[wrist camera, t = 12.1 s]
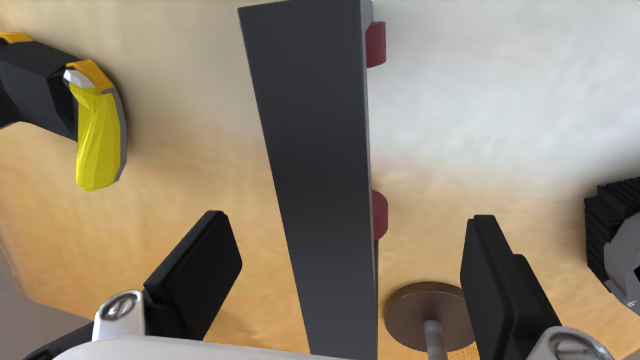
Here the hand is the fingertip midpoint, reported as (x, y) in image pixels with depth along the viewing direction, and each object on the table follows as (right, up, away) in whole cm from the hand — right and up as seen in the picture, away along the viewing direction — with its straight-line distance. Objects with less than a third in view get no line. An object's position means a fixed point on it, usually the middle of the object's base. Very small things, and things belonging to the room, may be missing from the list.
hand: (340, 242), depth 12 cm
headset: (+2, +7, +13) cm, 14 cm away
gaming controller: (-24, +10, +16) cm, 30 cm away
